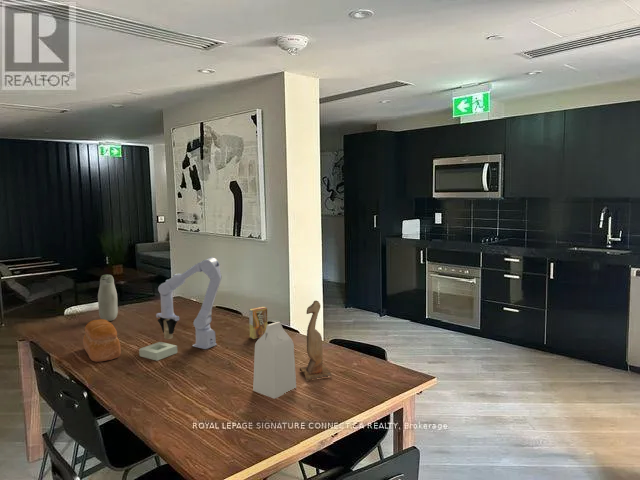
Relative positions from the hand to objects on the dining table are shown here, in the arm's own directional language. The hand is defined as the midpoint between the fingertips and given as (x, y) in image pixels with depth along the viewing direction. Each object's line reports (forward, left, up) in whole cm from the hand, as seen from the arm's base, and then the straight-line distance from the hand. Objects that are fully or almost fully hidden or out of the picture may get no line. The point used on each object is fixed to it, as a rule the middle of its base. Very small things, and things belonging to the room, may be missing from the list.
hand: (168, 333), depth 233 cm
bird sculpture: (-84, -4, -6) cm, 84 cm away
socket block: (-7, +12, -6) cm, 15 cm away
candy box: (-31, -33, -6) cm, 46 cm away
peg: (0, 0, -3) cm, 2 cm away
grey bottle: (+67, -13, -6) cm, 69 cm away
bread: (+18, +24, -7) cm, 31 cm away
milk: (-78, +16, -6) cm, 80 cm away
